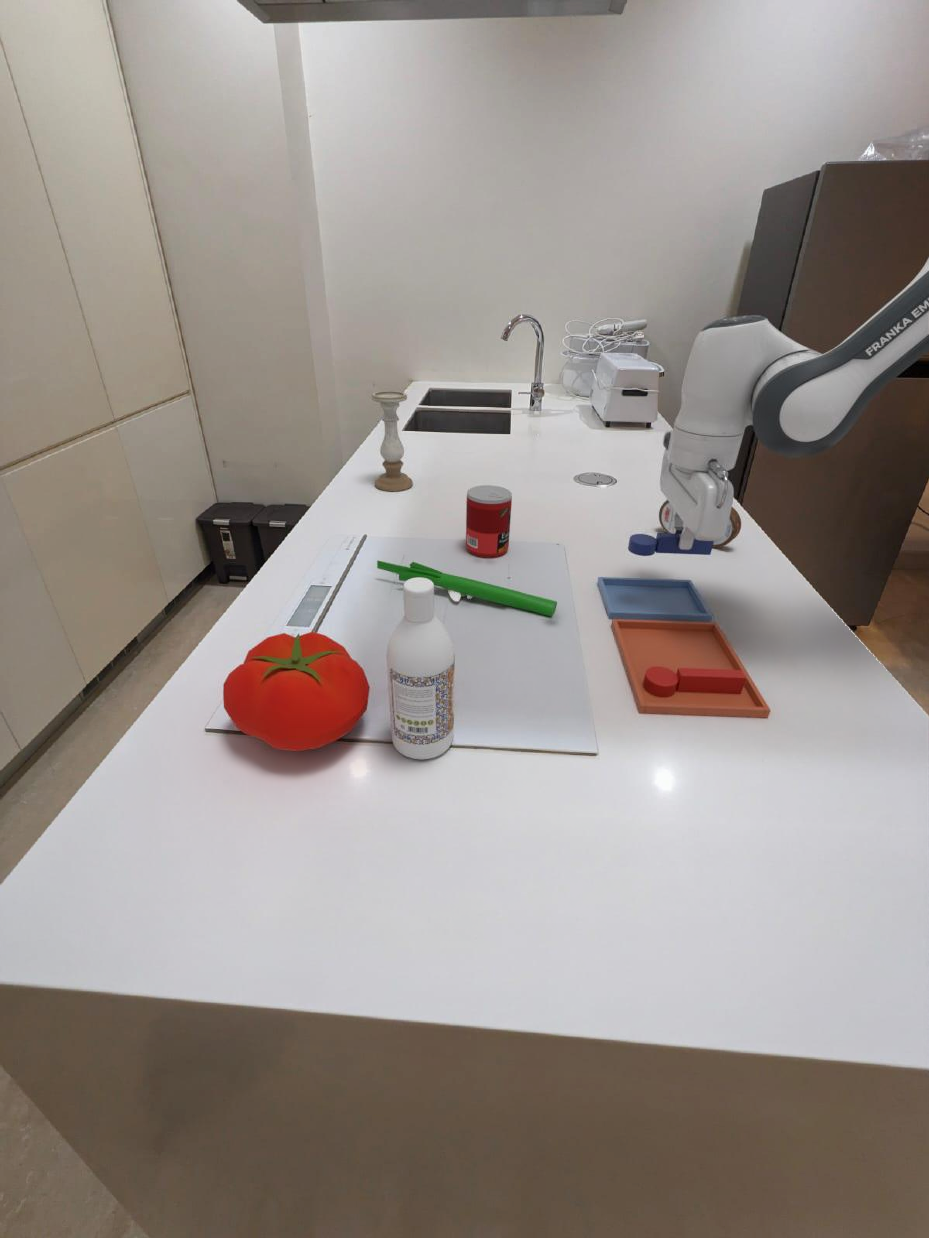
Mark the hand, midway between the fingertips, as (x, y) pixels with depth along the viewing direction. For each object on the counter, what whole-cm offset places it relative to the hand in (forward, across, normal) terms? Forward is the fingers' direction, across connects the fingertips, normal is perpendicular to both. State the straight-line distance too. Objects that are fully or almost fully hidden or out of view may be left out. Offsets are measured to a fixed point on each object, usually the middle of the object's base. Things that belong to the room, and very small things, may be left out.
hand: (680, 543), depth 86 cm
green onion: (+11, 0, +32) cm, 34 cm away
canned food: (+11, +18, +28) cm, 35 cm away
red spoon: (+10, -22, +3) cm, 24 cm away
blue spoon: (+1, 0, +2) cm, 3 cm away
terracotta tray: (+11, -17, +2) cm, 20 cm away
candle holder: (+11, +51, +50) cm, 73 cm away
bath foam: (+11, -32, +35) cm, 49 cm away
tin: (+11, +25, -12) cm, 30 cm away
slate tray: (+11, 0, +2) cm, 11 cm away
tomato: (+11, -30, +49) cm, 59 cm away
